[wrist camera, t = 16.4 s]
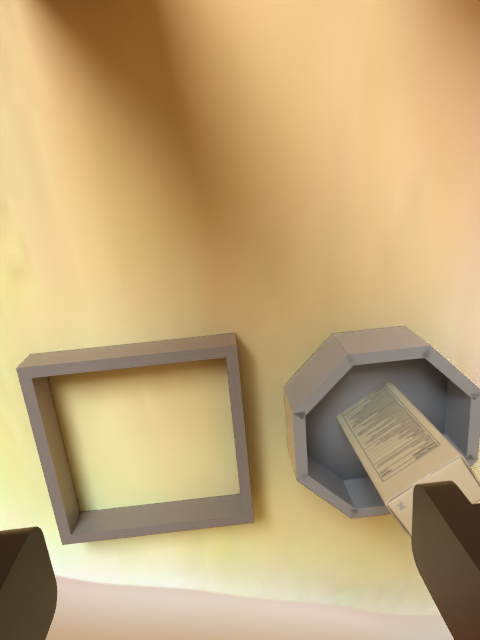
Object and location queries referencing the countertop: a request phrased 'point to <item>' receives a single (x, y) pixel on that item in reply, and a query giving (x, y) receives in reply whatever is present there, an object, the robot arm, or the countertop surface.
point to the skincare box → (402, 450)
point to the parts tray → (139, 517)
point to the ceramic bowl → (352, 385)
